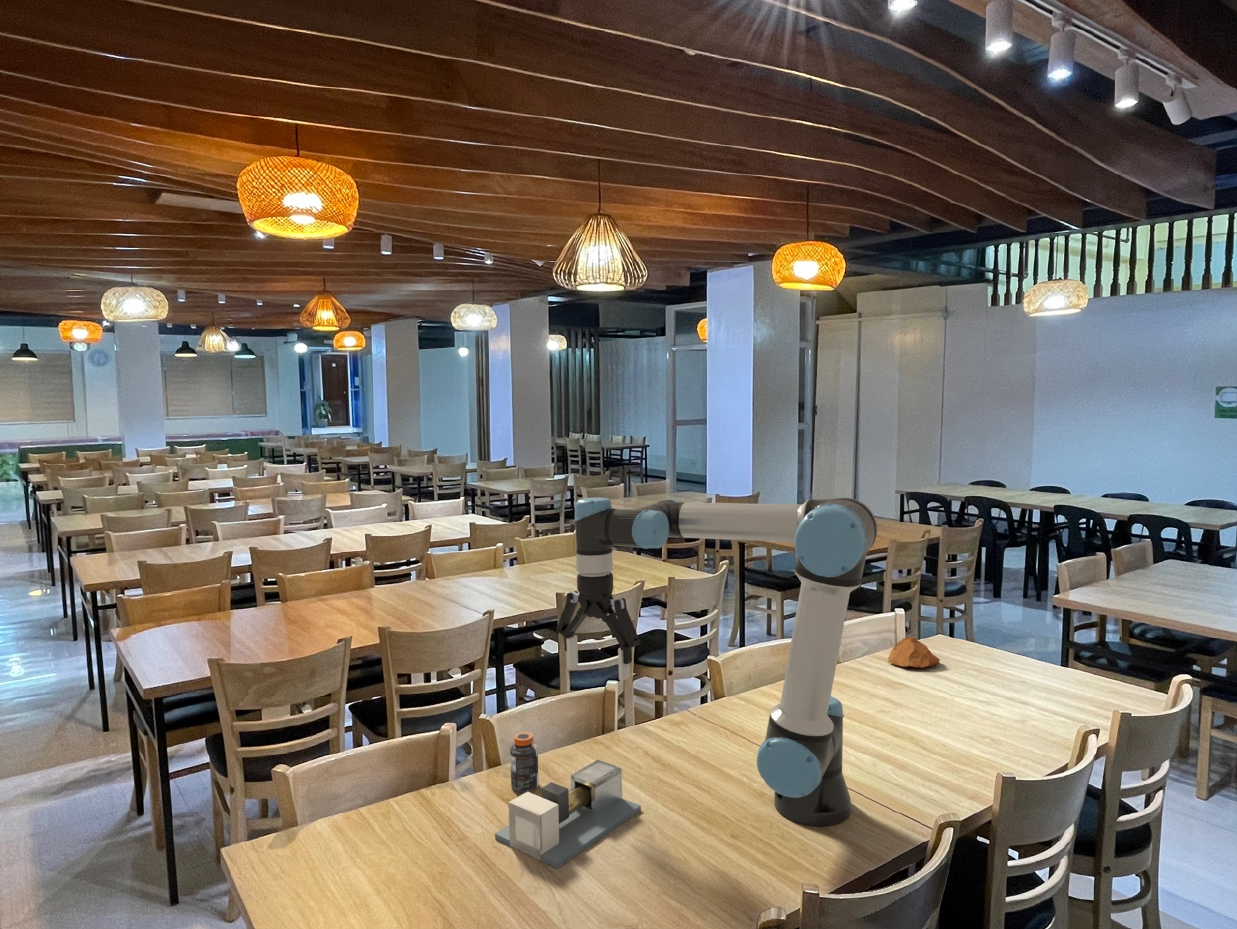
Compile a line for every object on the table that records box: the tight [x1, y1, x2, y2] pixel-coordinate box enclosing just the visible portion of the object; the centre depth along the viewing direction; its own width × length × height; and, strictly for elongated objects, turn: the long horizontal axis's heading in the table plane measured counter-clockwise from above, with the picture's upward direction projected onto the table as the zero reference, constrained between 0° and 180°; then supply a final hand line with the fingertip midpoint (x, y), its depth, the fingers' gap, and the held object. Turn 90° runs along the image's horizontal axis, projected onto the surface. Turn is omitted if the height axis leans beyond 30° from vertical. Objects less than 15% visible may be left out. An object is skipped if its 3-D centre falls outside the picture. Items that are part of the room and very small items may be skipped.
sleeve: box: [570, 759, 623, 816], centre depth 164 cm, size 6×8×6 cm
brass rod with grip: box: [540, 781, 592, 824], centre depth 156 cm, size 4×15×7 cm, turn 142°
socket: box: [508, 791, 559, 862], centre depth 150 cm, size 8×5×8 cm, turn 52°
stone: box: [887, 636, 941, 669], centre depth 249 cm, size 15×15×10 cm
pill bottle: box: [509, 732, 540, 793], centre depth 173 cm, size 6×6×11 cm
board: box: [494, 788, 642, 869], centre depth 158 cm, size 16×25×1 cm, turn 142°
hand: (597, 672), depth 168 cm, fingers open, 13 cm apart
